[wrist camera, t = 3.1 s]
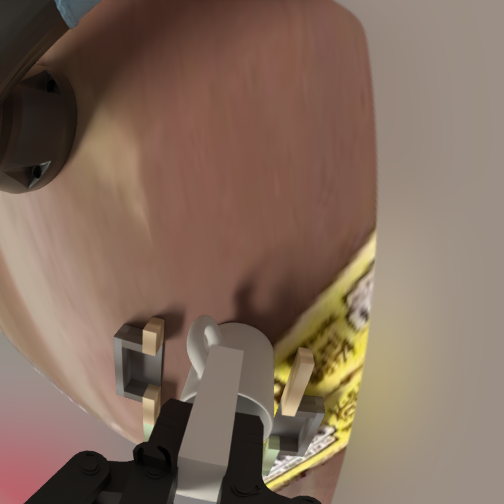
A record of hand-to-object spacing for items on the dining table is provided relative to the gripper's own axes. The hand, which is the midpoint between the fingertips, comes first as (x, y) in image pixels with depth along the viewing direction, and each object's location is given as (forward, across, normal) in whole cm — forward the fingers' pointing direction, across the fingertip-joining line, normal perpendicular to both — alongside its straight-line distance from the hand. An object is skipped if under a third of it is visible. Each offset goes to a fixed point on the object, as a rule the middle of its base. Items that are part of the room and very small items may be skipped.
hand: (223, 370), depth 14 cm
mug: (+18, 0, -10) cm, 20 cm away
